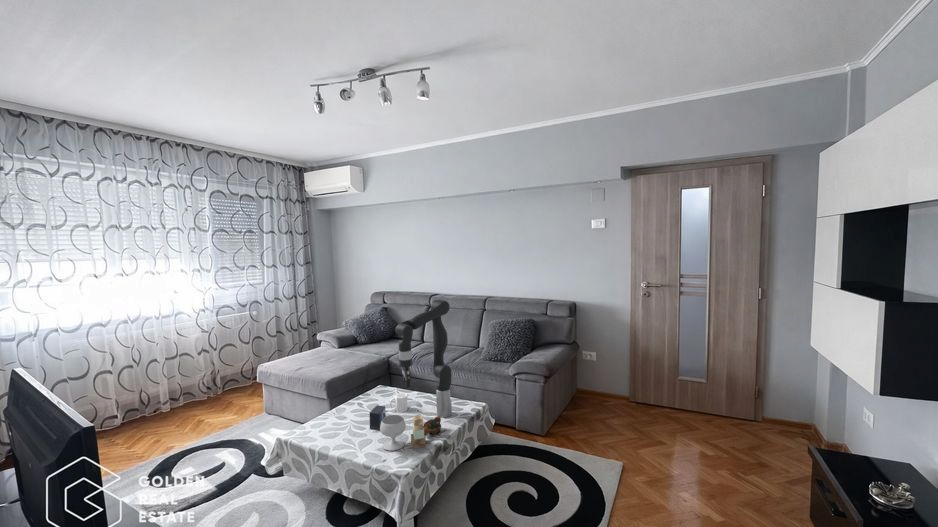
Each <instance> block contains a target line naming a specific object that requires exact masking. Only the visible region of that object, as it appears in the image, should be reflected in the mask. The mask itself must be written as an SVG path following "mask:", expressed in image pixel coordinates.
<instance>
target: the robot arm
mask: <svg viewBox="0 0 938 527" xmlns="http://www.w3.org/2000/svg"><path fill="white" fill-rule="evenodd" d="M449 311H450V303H449V301H446V300H442V299H433V300H432V302H431V303H430V310H428V311H424V312H422V313H421V312H420V313H419V314H416V315H415V316H413V317H411V318H410V319H407V320H405V321H401V322H400V323H398V324H397V326H395V329H394V330H395V334H396V335H398V336H400V337H402V339H401V340H399V342H398V362H399V363H398V364H399V367H400V368H401V371H402V372H401V374H402V377H403V379H402V380H403V382H404V383H405V387H406V388H407V389H408V388H410V387H411V381H412V378H411V376H412V375H411V369H410V367H412V366H413V354H412V340H413V334H414V330H418V329H420V328H421V327H422V326H424V325H425V324H427V323H429V322H431V321H432V322H431V323H432V335H433V336H432V343H433V366H432V367H433V368H432V373H433V376H435V377H436V378H438V379H439V382H438V383H436V386H435V395H436V397H435V399H436V404H435V405H436V417H437V416H440V418H447V417H450V416H452V415H453V412H452V411H453V410H452V407H453V406H452V399H451V386H452V368H451V367H450V365H448V364H445V360H444V355H445V351H446V350H447V347H448V342H449V341H448V332H447V329H446V327H445V326H444V324H443V320H442V316H444V315H446V314H448V312H449Z"/></svg>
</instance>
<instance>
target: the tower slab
mask: <svg viewBox="0 0 938 527" xmlns="http://www.w3.org/2000/svg"><path fill="white" fill-rule="evenodd" d="M410 442H411V443H410V444H411V446H412V450H415V449H419V448H425V447H427V446H426V444H427V443H426V436H425V435H424V438H422V439H416V440H414V437H413V433H411V434H410Z"/></svg>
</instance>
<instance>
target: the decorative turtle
mask: <svg viewBox="0 0 938 527" xmlns="http://www.w3.org/2000/svg"><path fill="white" fill-rule="evenodd" d="M441 418H442V417H440V416H437V415H436V416H435V417H434V419H432V418H431V419H429V420H427V421H425V422H424V423H423V428H424V436H425V437H426V436H427V435H429V434H430V433H431V435H433V436H436V434H437V433H440V431H441V428H442V424H441V421H442V420H441Z"/></svg>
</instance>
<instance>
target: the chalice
mask: <svg viewBox="0 0 938 527" xmlns="http://www.w3.org/2000/svg"><path fill="white" fill-rule="evenodd" d="M379 430H380V432H381V434H382V435H383V436H385V437H388V438H390V439H388V440H386V441H385V442H384V443H383V444H382V448H383V450H385V451H390V452H394V451H398V450H400V449H402V448H403V447H404V446H405V444H406V443H405V441H404V440H402V439H400V438H396V437H398V436H400V435H402V434H403V433H404V432H405V430H406V420H405V418H404V416H402V415H400V414H390V415H386V417H385V418H383V420H382V422H381V425H380V429H379Z"/></svg>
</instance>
